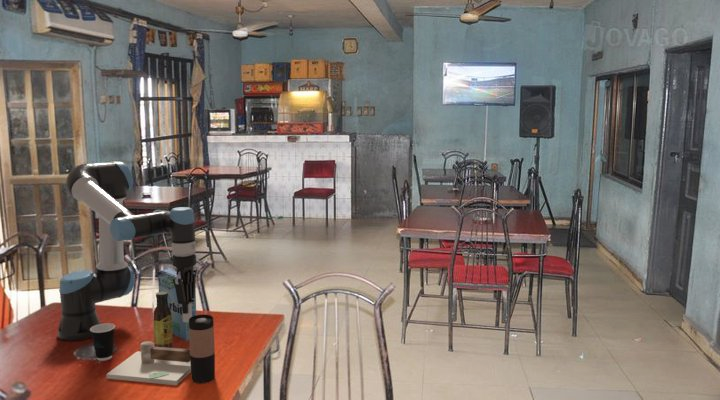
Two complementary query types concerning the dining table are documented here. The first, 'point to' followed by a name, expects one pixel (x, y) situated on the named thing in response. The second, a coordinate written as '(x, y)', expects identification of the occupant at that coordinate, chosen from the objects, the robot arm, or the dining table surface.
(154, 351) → the grey hammer
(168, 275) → the gum box
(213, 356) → the travel mug
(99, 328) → the dixie cup
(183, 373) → the board
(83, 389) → the dining table surface
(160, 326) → the sauce bottle
